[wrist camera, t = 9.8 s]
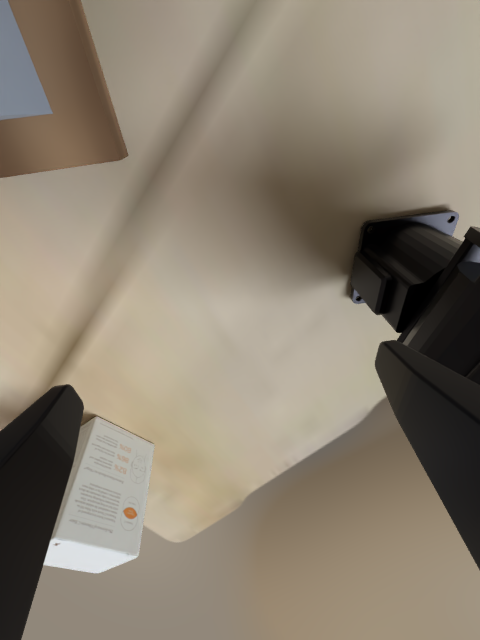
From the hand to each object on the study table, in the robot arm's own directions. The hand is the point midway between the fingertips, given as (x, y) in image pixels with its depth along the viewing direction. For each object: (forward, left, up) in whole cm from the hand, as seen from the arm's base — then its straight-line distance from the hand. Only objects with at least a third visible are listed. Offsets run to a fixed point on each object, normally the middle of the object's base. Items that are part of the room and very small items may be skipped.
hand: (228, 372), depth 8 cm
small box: (+15, +22, -13) cm, 30 cm away
